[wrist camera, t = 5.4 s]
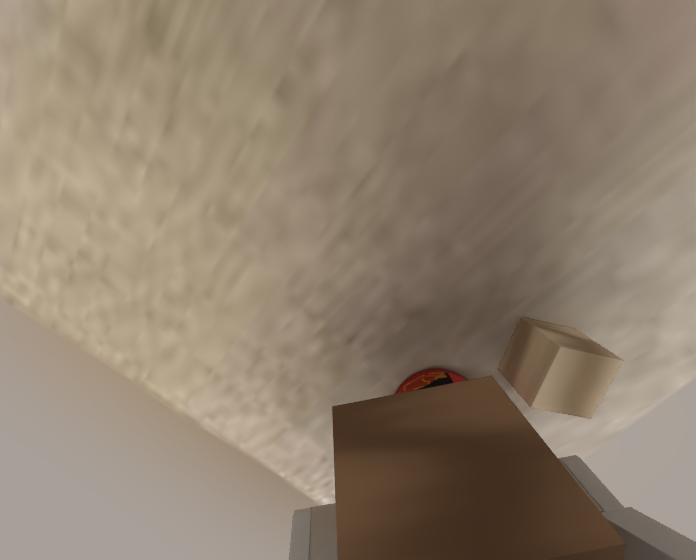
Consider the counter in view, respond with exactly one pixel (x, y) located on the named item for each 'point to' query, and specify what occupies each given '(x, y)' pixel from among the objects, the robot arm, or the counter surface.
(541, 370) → the oak block
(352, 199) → the counter surface
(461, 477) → the walnut block
